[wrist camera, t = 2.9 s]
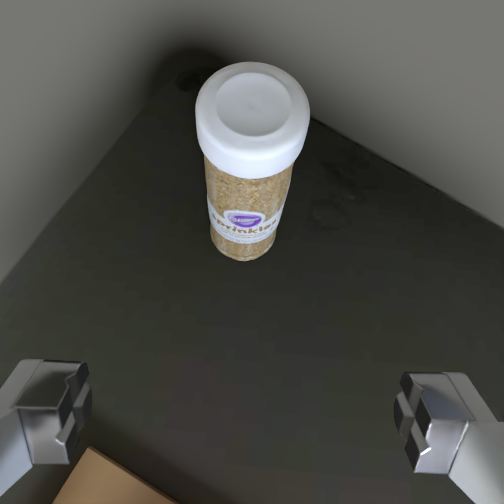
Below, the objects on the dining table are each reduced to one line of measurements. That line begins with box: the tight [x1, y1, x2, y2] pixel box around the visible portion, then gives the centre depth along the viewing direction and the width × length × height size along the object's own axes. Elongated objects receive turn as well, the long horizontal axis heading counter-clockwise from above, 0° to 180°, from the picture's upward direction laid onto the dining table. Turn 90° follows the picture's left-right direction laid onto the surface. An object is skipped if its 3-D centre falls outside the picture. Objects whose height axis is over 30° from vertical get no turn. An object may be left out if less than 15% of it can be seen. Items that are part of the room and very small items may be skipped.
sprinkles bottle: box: [195, 62, 310, 261], centre depth 23 cm, size 5×5×14 cm
